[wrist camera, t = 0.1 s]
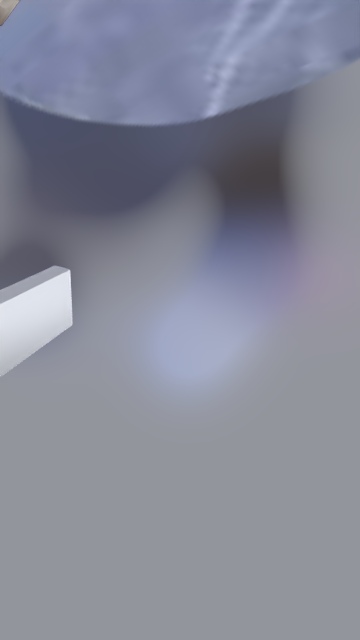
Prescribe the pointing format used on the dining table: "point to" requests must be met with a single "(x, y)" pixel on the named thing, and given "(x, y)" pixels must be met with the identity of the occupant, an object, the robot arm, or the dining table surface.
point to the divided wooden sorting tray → (6, 9)
